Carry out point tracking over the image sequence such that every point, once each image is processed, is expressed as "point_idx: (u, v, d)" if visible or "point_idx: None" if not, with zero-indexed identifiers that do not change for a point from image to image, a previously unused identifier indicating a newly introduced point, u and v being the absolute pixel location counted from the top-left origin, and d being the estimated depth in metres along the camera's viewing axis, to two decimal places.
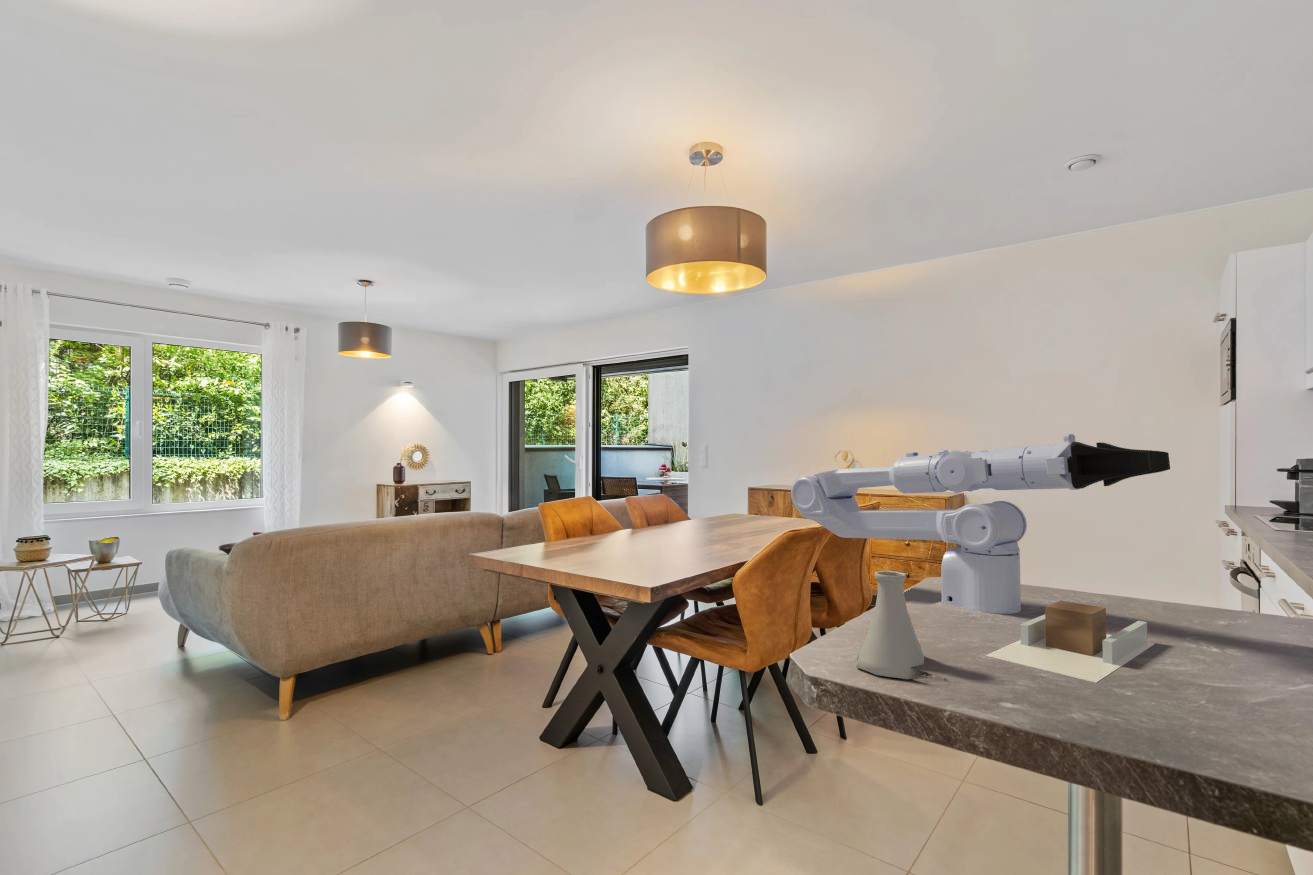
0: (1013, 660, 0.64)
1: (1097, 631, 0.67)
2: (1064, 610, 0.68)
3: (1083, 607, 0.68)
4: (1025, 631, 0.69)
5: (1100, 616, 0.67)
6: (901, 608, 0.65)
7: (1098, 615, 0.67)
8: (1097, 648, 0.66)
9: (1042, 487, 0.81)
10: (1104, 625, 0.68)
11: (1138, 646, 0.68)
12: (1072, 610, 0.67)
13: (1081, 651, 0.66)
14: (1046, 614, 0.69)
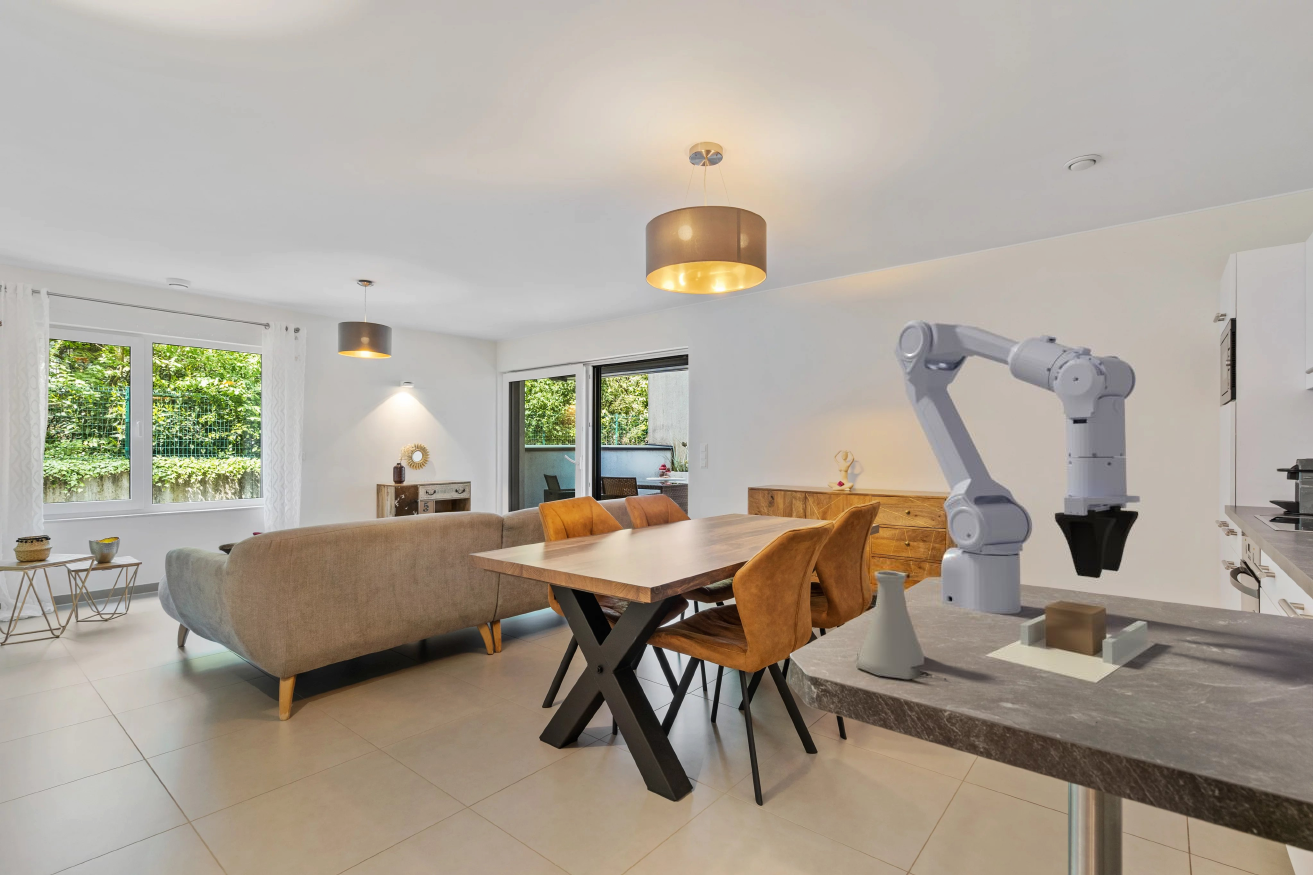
0: (1013, 660, 0.64)
1: (1097, 631, 0.67)
2: (1064, 610, 0.68)
3: (1083, 607, 0.68)
4: (1025, 631, 0.69)
5: (1100, 616, 0.67)
6: (901, 608, 0.65)
7: (1098, 615, 0.67)
8: (1097, 648, 0.66)
9: (1067, 469, 0.75)
10: (1104, 625, 0.68)
11: (1138, 646, 0.68)
12: (1072, 610, 0.67)
13: (1081, 651, 0.66)
14: (1046, 614, 0.69)
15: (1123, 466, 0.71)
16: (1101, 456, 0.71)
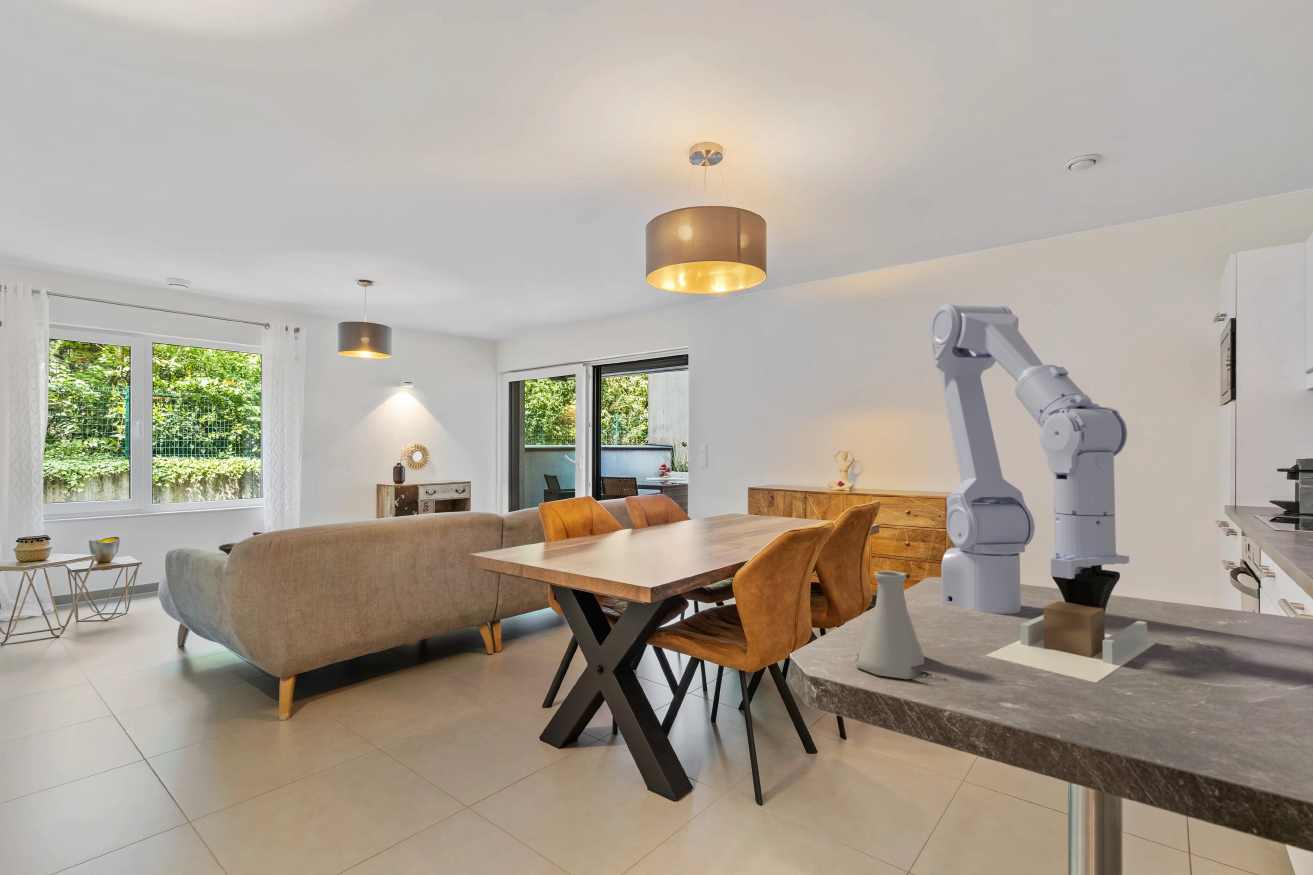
0: (1013, 660, 0.64)
1: (1095, 632, 0.66)
2: (1062, 611, 0.67)
3: (1081, 608, 0.68)
4: (1025, 631, 0.69)
5: (1098, 617, 0.67)
6: (901, 608, 0.65)
7: (1096, 616, 0.66)
8: (1096, 649, 0.66)
9: (1054, 525, 0.72)
10: (1102, 626, 0.67)
11: (1138, 646, 0.68)
12: (1070, 611, 0.67)
13: (1080, 652, 0.66)
14: (1044, 615, 0.68)
15: (1112, 525, 0.68)
16: (1089, 514, 0.68)
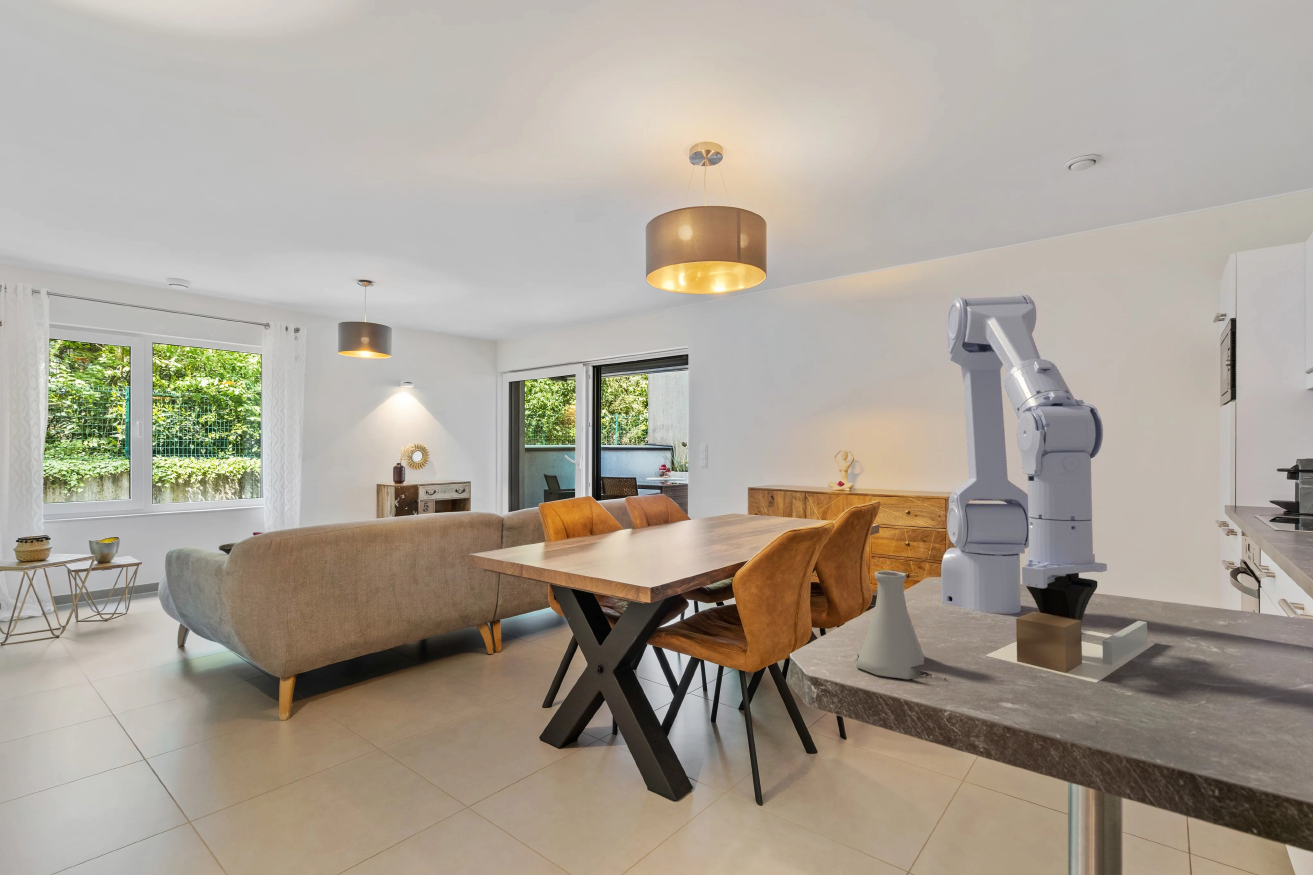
0: (1013, 660, 0.64)
1: (1071, 646, 0.62)
2: (1036, 623, 0.63)
3: (1057, 619, 0.63)
4: None
5: (1074, 629, 0.62)
6: (901, 608, 0.65)
7: (1072, 628, 0.62)
8: (1071, 664, 0.61)
9: (1028, 530, 0.68)
10: (1079, 639, 0.63)
11: (1138, 646, 0.68)
12: (1044, 623, 0.62)
13: (1054, 667, 0.61)
14: (1017, 627, 0.64)
15: (1089, 530, 0.64)
16: (1064, 519, 0.64)
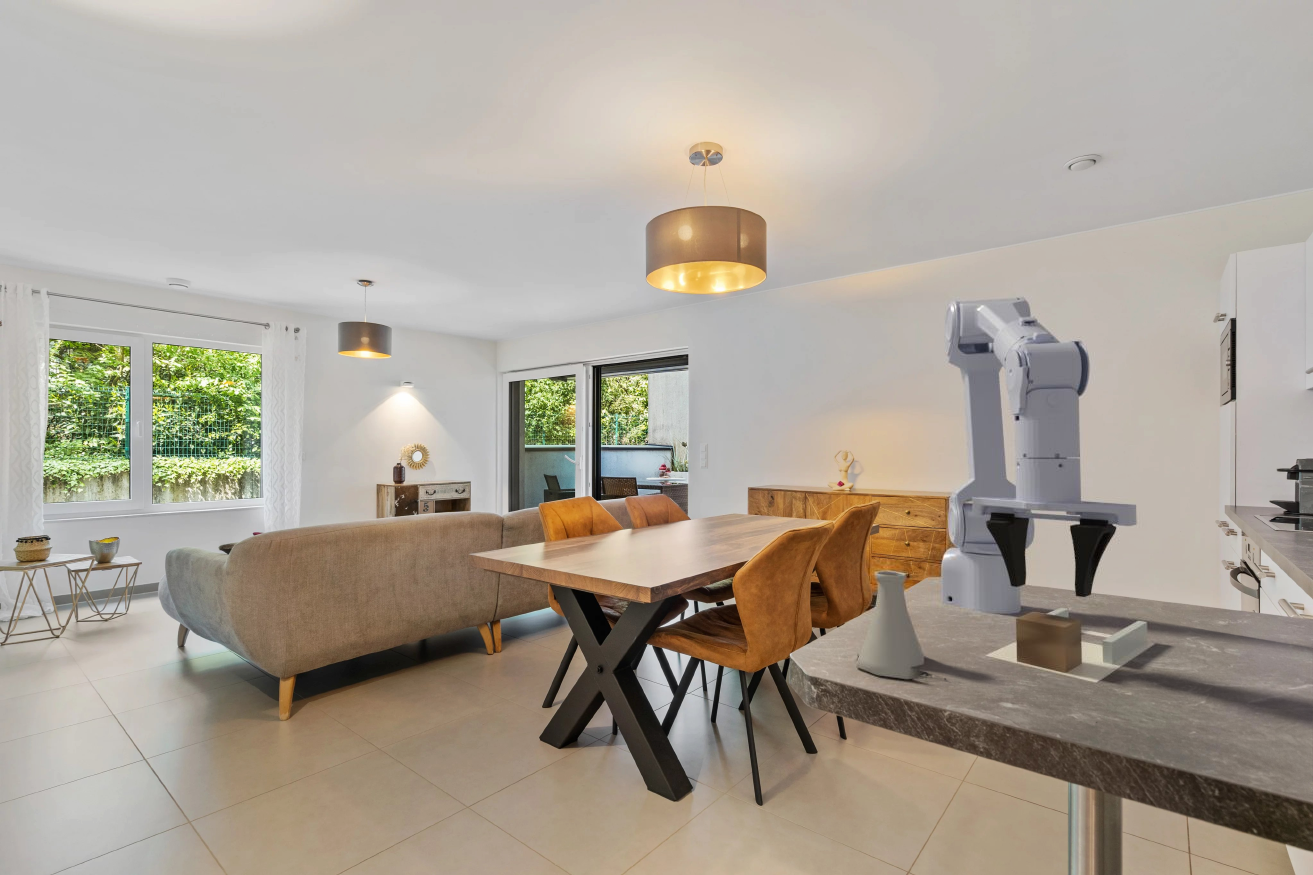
0: (1013, 660, 0.64)
1: (1071, 646, 0.62)
2: (1036, 623, 0.63)
3: (1057, 619, 0.63)
4: None
5: (1074, 629, 0.62)
6: (901, 608, 0.65)
7: (1072, 628, 0.62)
8: (1071, 664, 0.61)
9: None
10: (1079, 639, 0.63)
11: (1138, 646, 0.68)
12: (1044, 623, 0.62)
13: (1054, 667, 0.61)
14: (1017, 627, 0.64)
15: (1031, 468, 0.63)
16: None
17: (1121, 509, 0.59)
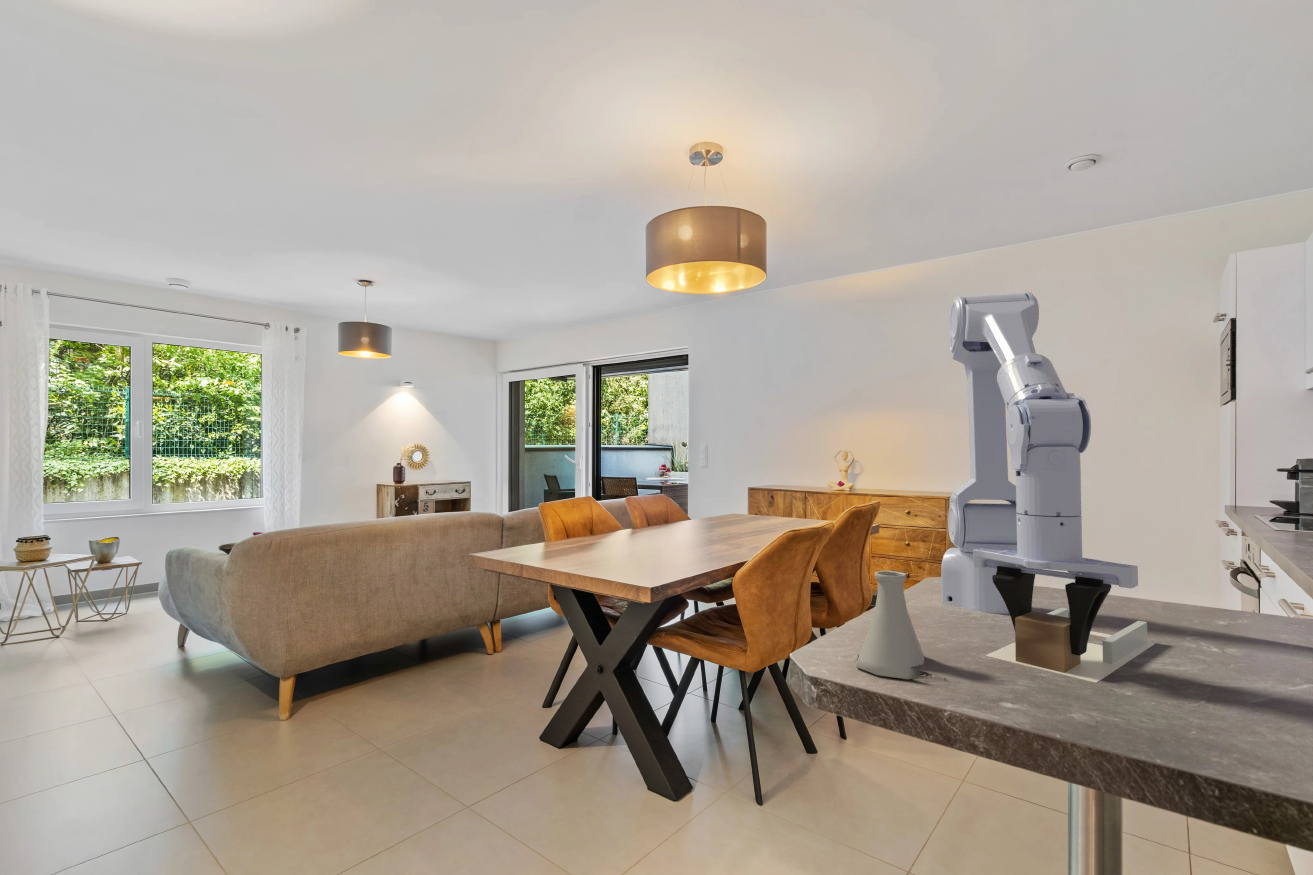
0: (1013, 660, 0.64)
1: (1070, 645, 0.62)
2: (1035, 622, 0.63)
3: (1056, 619, 0.64)
4: None
5: None
6: (901, 608, 0.65)
7: None
8: (1070, 664, 0.62)
9: None
10: None
11: (1138, 646, 0.68)
12: (1043, 622, 0.62)
13: (1052, 667, 0.61)
14: (1016, 626, 0.64)
15: (1032, 526, 0.63)
16: (1016, 512, 0.66)
17: (1123, 571, 0.59)
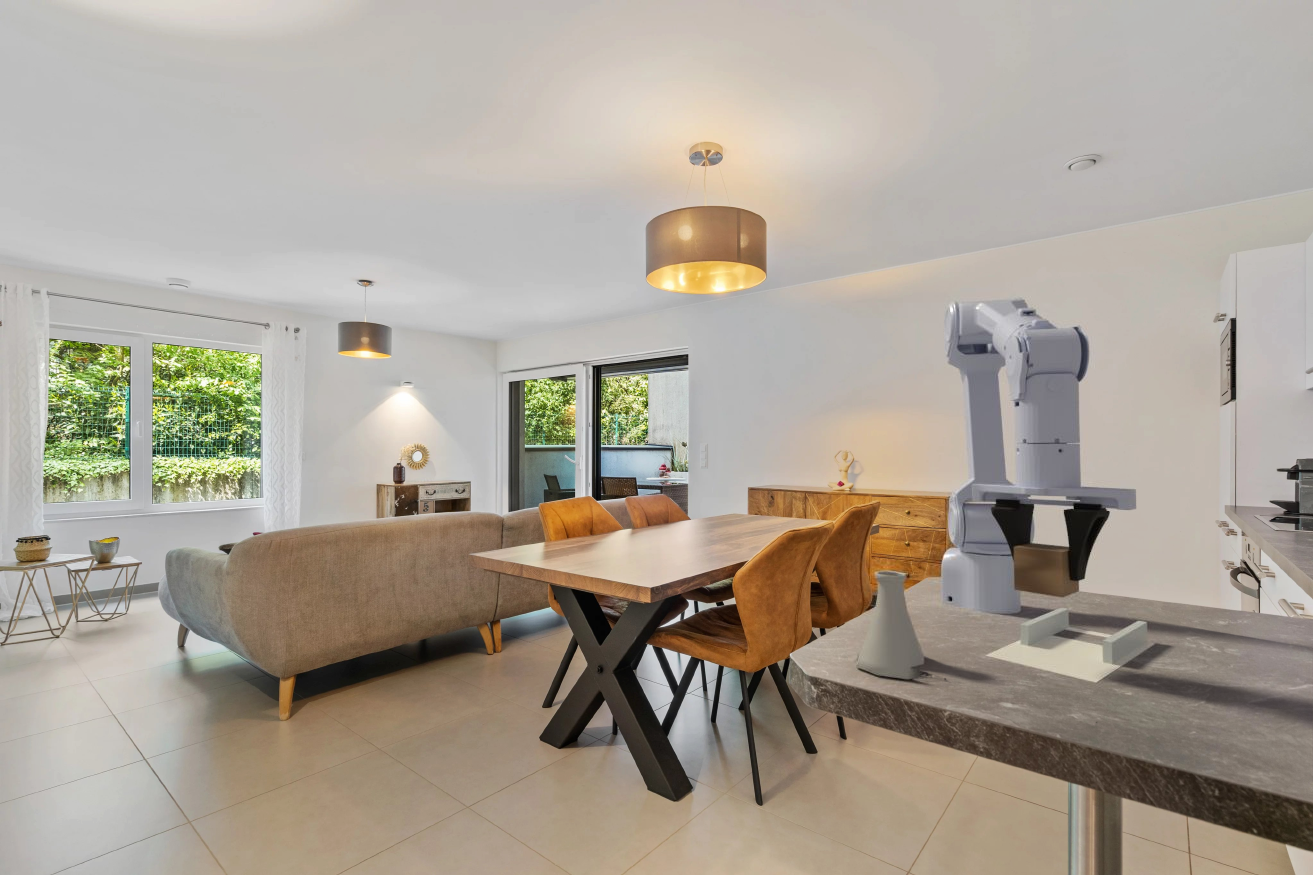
0: (1013, 660, 0.64)
1: (1068, 571, 0.62)
2: (1033, 550, 0.63)
3: (1054, 547, 0.64)
4: (1025, 631, 0.69)
5: None
6: (901, 608, 0.65)
7: None
8: (1068, 589, 0.62)
9: None
10: None
11: (1138, 646, 0.68)
12: (1042, 549, 0.63)
13: (1051, 592, 0.62)
14: (1014, 555, 0.64)
15: (1031, 454, 0.63)
16: None
17: (1121, 493, 0.59)
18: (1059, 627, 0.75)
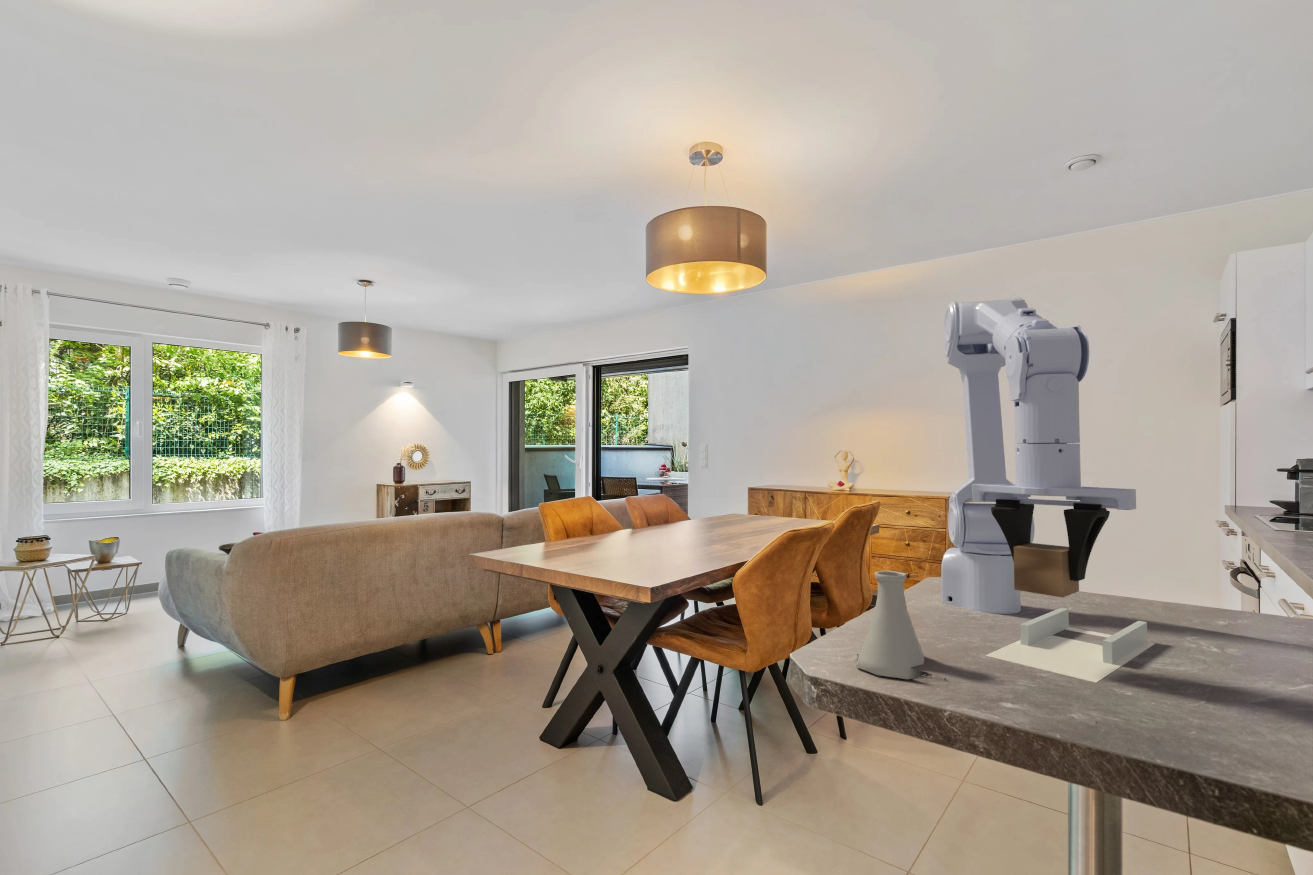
0: (1013, 660, 0.64)
1: (1068, 571, 0.62)
2: (1033, 550, 0.63)
3: (1054, 547, 0.64)
4: (1025, 631, 0.69)
5: None
6: (901, 608, 0.65)
7: None
8: (1068, 589, 0.62)
9: None
10: None
11: (1138, 646, 0.68)
12: (1042, 549, 0.63)
13: (1051, 592, 0.62)
14: (1014, 555, 0.64)
15: (1031, 454, 0.63)
16: None
17: (1121, 493, 0.59)
18: (1059, 627, 0.75)
